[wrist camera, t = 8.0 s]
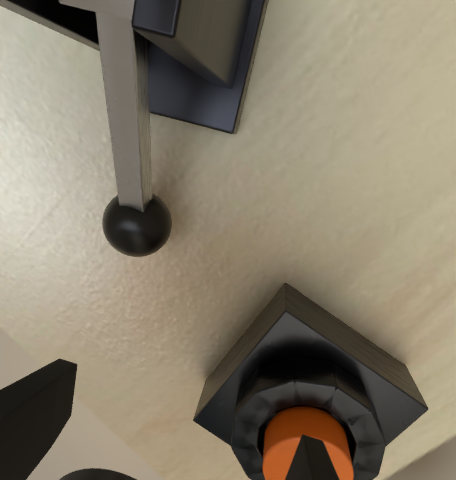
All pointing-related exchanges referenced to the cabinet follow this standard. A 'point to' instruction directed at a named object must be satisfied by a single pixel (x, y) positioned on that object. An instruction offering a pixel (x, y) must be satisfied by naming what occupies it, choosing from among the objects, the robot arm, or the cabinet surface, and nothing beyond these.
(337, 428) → the button
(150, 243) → the lever
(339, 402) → the button housing
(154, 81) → the bracket
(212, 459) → the cabinet surface
